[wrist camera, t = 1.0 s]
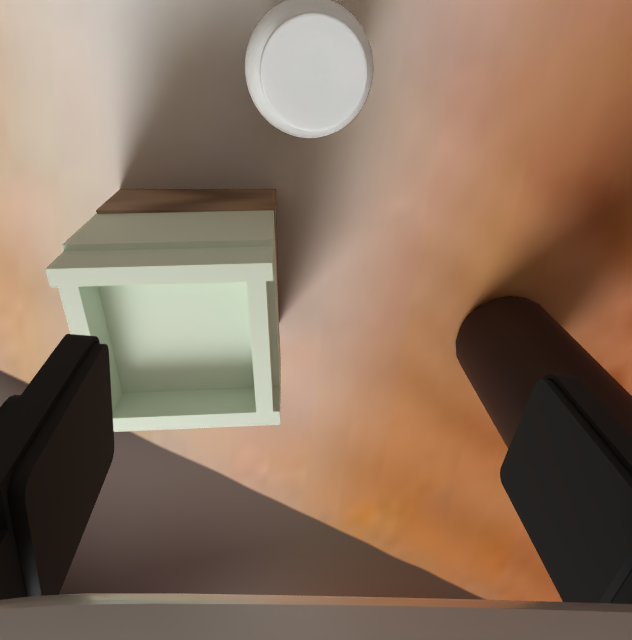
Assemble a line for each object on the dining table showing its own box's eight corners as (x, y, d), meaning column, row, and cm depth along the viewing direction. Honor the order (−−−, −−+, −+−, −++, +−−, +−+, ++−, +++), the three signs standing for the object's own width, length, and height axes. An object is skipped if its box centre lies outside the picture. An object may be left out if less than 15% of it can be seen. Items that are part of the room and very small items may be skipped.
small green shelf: (273, 210, 26) (271, 256, 21) (280, 357, 30) (280, 429, 25) (96, 214, 26) (43, 261, 20) (128, 363, 30) (91, 437, 24)
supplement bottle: (230, 52, 26) (207, 55, 18) (313, -20, 25) (330, -53, 17) (293, 139, 29) (299, 178, 20) (372, 77, 27) (413, 90, 19)
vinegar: (459, 296, 34) (650, 562, 16) (558, 291, 34) (849, 547, 17) (448, 379, 37) (599, 676, 20) (539, 374, 38) (767, 662, 20)
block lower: (275, 188, 30) (274, 209, 26) (278, 321, 34) (278, 357, 30) (120, 188, 30) (96, 210, 26) (143, 323, 34) (125, 360, 30)
